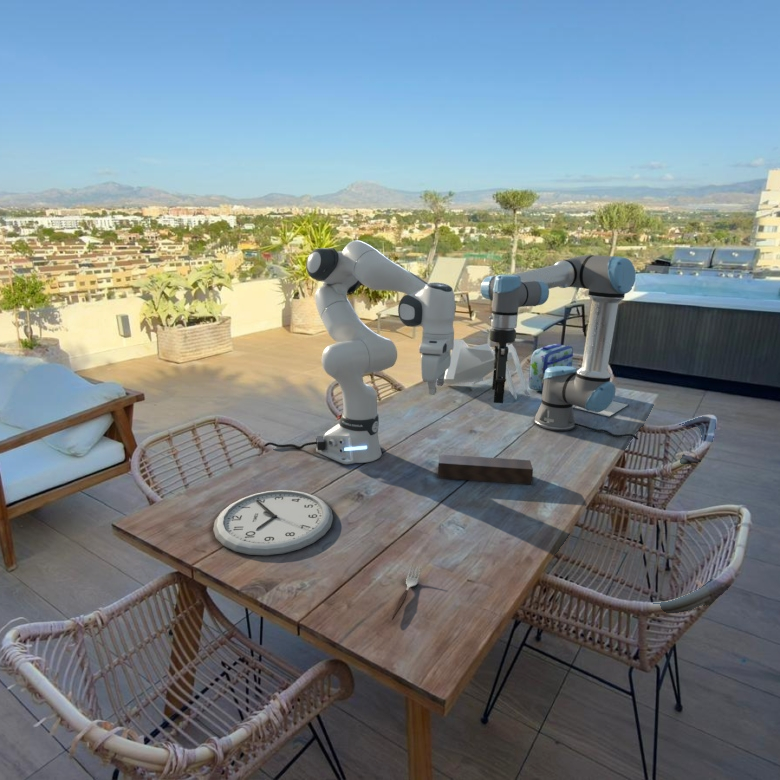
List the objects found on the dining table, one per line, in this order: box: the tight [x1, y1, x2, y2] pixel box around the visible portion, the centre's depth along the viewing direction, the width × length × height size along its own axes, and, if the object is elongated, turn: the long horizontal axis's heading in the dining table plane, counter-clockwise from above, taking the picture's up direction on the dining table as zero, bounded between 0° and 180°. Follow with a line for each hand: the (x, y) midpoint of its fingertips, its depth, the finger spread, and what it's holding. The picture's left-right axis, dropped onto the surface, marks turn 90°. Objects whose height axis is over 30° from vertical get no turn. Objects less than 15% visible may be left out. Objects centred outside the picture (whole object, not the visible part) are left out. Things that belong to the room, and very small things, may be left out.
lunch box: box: [528, 343, 574, 392], centre depth 248 cm, size 26×11×21 cm, turn 134°
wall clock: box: [212, 489, 334, 556], centre depth 134 cm, size 30×2×30 cm
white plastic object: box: [443, 338, 531, 400], centre depth 245 cm, size 37×45×31 cm
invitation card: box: [573, 400, 629, 418], centre depth 226 cm, size 21×1×15 cm
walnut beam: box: [437, 454, 534, 485], centre depth 160 cm, size 28×6×5 cm, turn 83°
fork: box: [391, 565, 422, 620], centre depth 108 cm, size 3×16×2 cm, turn 160°
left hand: (436, 389), depth 151 cm, fingers open, 8 cm apart
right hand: (497, 396), depth 162 cm, fingers open, 13 cm apart
